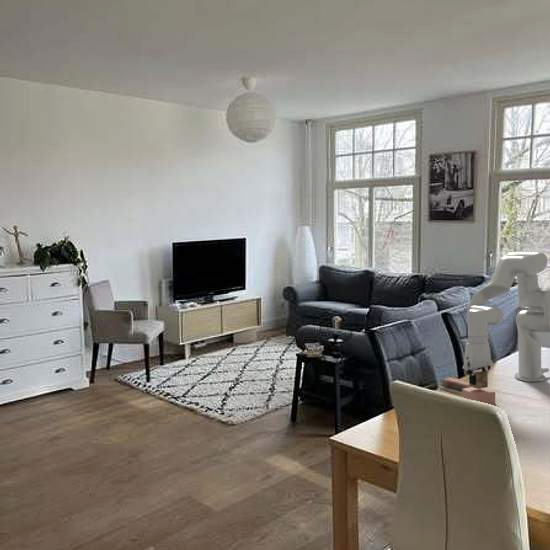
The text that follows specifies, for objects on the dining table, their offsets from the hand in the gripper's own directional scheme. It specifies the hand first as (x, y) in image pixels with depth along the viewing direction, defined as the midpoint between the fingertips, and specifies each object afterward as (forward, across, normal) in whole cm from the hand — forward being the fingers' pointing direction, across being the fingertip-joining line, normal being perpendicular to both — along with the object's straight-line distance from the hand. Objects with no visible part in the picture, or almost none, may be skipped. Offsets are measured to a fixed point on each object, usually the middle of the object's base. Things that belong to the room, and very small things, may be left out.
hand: (478, 382), depth 224 cm
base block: (+8, 0, 0) cm, 8 cm away
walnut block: (+2, 0, 0) cm, 2 cm away
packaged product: (+9, -4, -15) cm, 17 cm away
